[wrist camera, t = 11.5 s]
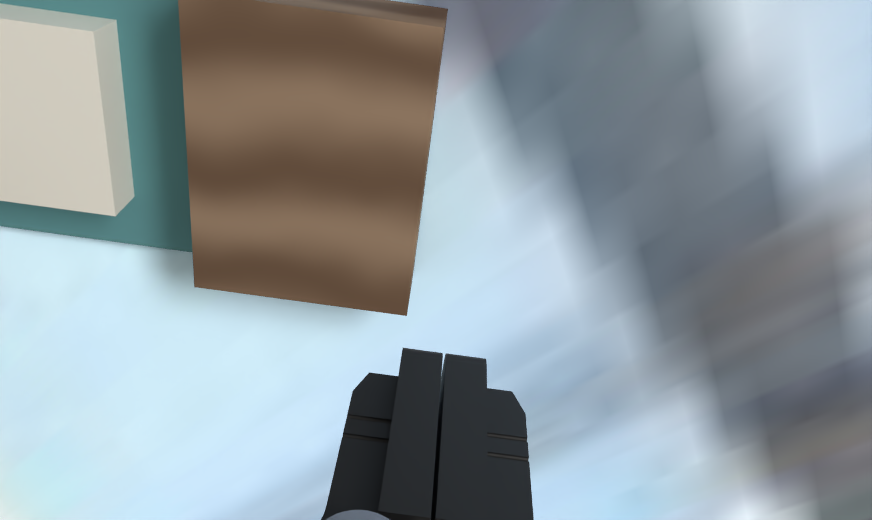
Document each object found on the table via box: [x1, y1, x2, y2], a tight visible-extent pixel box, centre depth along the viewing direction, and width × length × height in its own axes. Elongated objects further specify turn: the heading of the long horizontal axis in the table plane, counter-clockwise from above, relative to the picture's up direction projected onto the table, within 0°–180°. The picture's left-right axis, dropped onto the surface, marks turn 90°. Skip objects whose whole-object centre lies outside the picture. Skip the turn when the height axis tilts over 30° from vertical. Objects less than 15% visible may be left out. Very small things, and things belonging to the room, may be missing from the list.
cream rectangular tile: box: [0, 3, 134, 216], centre depth 38 cm, size 10×7×2 cm
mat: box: [0, 0, 193, 252], centre depth 39 cm, size 16×12×1 cm
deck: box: [178, 0, 448, 316], centre depth 38 cm, size 16×12×4 cm
